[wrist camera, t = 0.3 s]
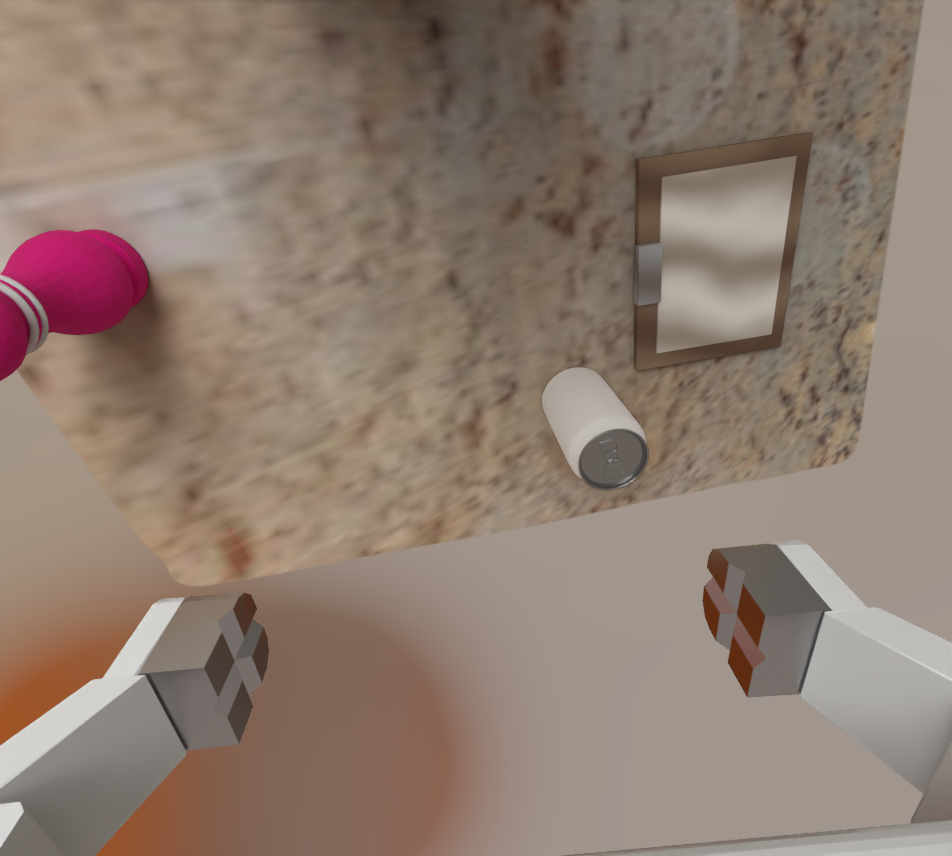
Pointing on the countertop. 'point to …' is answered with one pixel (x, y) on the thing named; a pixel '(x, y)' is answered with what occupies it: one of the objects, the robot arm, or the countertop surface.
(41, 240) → the pepper mill
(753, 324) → the clipboard
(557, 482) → the countertop surface
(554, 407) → the can
